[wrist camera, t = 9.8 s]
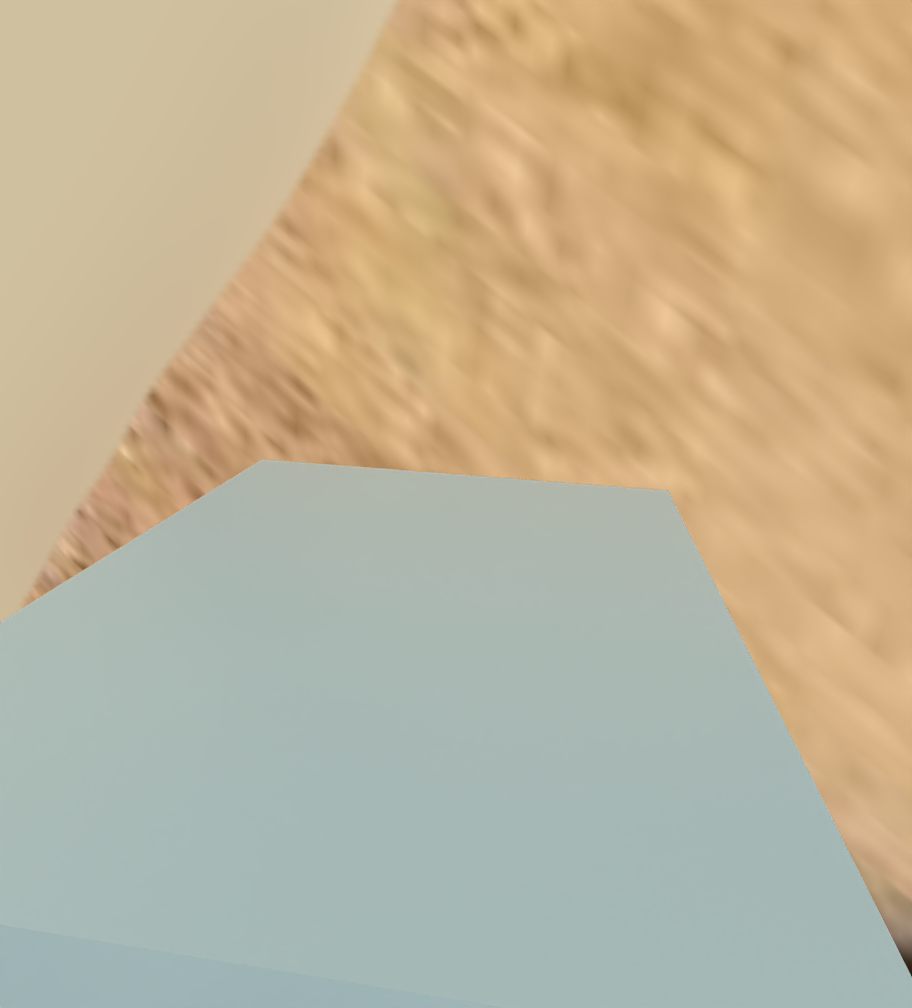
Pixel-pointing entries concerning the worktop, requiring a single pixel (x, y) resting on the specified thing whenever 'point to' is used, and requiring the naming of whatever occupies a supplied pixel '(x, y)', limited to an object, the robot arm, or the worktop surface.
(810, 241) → the worktop surface
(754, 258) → the worktop surface
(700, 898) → the light blue block
